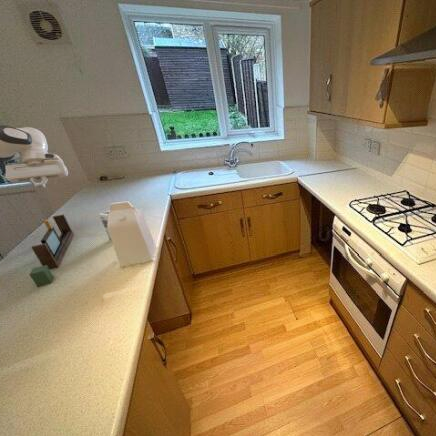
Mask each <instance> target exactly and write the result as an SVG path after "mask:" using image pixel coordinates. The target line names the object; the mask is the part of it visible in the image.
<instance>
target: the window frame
mask: <svg viewBox="0 0 436 436" xmlns="http://www.w3.org/2000/svg"><path fill="white" fill-rule="evenodd" d="M52 218H53V220H54V222H55V224H56V227H57V229H58V230H59V232H60V235H58V237H59V238H60V240H61V242H62V243H61V245H60V247H59V249H58V251H57V253H56V255H55V257H53V255H52V253H51V251H50V250H49V248H48V246H47V245H46V243H44V244H42V243H40V244H36V245H32V246H31V250H32V251H33V253H34V254H35V256H36V257H37V259H38V260H39V263H40V264H41V266H44V265H47V266H48V268H49V269H50V271H51V270H55V269H59V267H60V265H61V263H62V261H63V259H64V256H65V255H66V252H67V250H68V247H69V246H70V244H71V242H72V240H73V237H74V236H75V235H74V234H75V233H74V231H73V230H72V228H71V226H70V223H69V222H68V219H67V217H66V215H65V214H64V213H63V214H58V215H53V216H52Z"/></svg>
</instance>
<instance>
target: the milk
mask: <svg viewBox="0 0 436 436" xmlns="http://www.w3.org/2000/svg"><path fill="white" fill-rule="evenodd" d="M109 210H110V212H109V217H108V223H107V228H108V232H109V235H110V238H111V241H110V242H111V243H112V246H113V249H114V252H115V255H116V258H117V262H118V264H119V267H120V268H122V267H128V266H132V265H133V266H134V265H138V264H139V265H140V263H139V262H142V263H147V262H153V261H154V260H153V259H154V256H155V252H156V250H157V245H156V243H155V240H154V238H153V236H152V233H151V230H150V227H149V225H148V223H147V220H146V218H145V215H144V213H143V212H142V211H141V210H140V209H138V208H137V207H135V206H134V205H133V204H132V203H131V202H130V201H129V200H125V201H117V202H116V201H115V202H111V203H110V204H109ZM145 261H147V262H145ZM135 263H137V264H135ZM142 263H141V264H142ZM130 264H132V265H130Z"/></svg>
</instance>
